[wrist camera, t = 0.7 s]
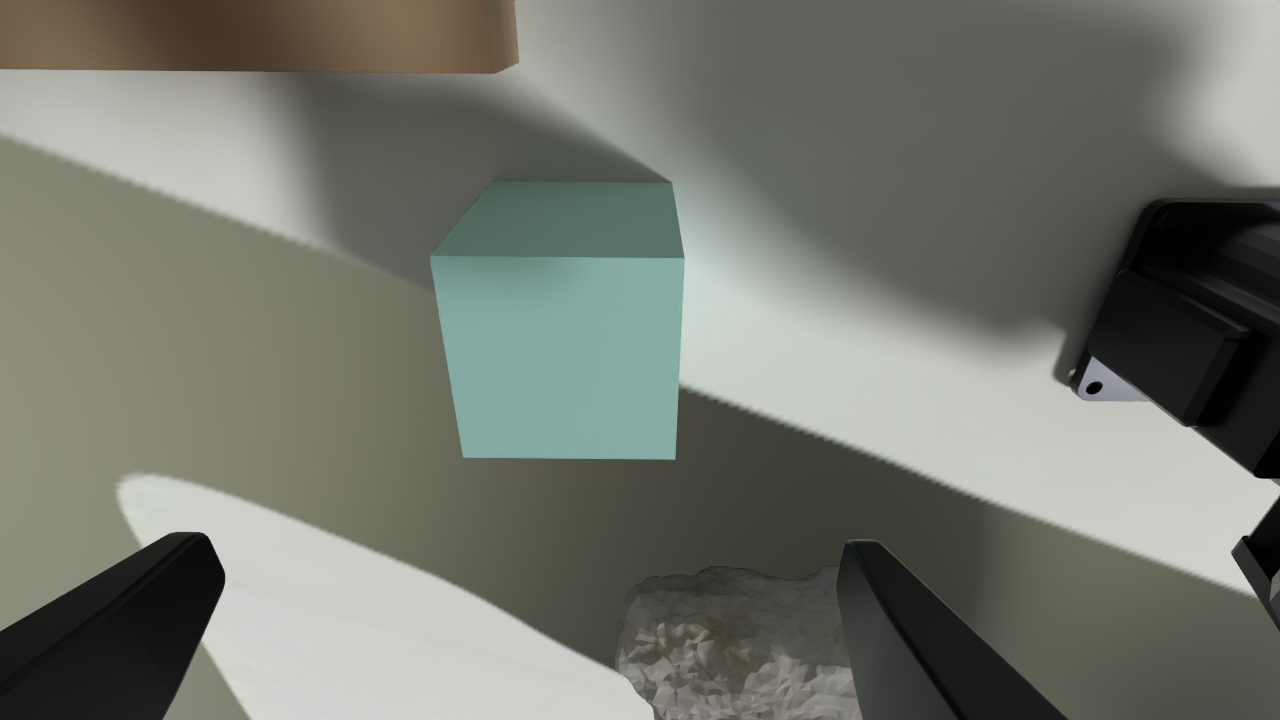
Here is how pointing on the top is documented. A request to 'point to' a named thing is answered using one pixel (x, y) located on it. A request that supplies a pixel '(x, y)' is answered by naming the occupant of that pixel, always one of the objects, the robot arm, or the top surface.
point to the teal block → (564, 320)
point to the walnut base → (260, 35)
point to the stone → (738, 647)
